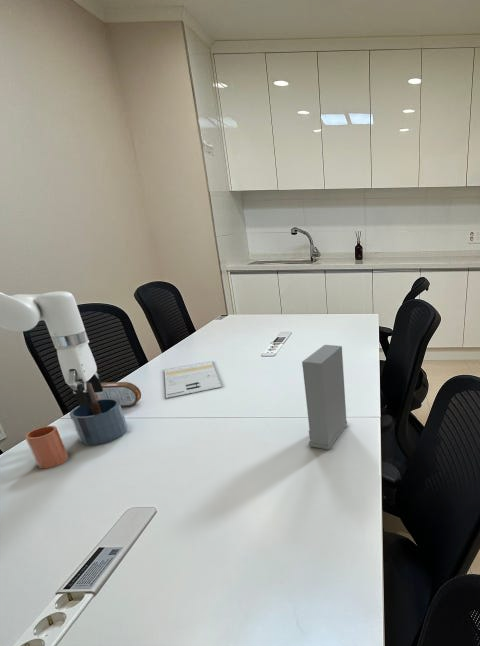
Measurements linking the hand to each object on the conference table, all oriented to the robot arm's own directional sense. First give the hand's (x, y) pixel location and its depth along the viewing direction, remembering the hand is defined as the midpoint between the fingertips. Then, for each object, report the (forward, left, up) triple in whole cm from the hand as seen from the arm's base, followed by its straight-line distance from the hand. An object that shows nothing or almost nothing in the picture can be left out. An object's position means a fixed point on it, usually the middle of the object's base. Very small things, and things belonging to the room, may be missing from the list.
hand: (91, 398), depth 110 cm
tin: (-1, +20, -12) cm, 23 cm away
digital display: (+20, +37, -12) cm, 44 cm away
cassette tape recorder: (+63, -23, -12) cm, 68 cm away
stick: (0, 0, -11) cm, 11 cm away
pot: (0, 0, -12) cm, 12 cm away
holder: (-9, -11, -12) cm, 19 cm away
